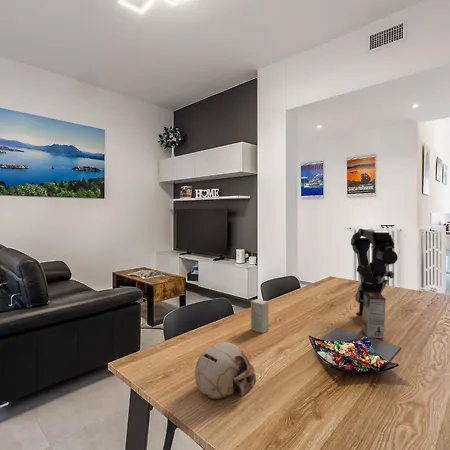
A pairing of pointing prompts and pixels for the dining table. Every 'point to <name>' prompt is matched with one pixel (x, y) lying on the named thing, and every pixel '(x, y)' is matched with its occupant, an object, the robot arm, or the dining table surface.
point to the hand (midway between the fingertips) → (378, 296)
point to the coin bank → (224, 371)
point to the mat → (380, 347)
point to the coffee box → (373, 314)
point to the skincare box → (259, 315)
